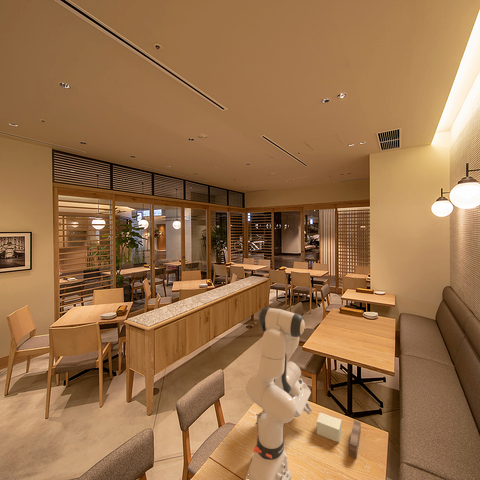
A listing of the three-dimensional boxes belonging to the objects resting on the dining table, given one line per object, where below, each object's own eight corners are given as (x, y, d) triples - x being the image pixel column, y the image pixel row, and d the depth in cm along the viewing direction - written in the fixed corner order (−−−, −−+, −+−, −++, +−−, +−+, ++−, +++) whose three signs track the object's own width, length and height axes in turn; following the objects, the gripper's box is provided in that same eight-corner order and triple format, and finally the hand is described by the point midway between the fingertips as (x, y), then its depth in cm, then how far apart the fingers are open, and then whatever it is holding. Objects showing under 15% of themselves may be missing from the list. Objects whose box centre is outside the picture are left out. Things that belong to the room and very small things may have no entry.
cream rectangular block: (339, 443, 123) (339, 429, 123) (316, 433, 129) (316, 421, 128) (341, 432, 129) (341, 419, 128) (319, 424, 135) (319, 412, 134)
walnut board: (356, 458, 115) (356, 446, 114) (349, 455, 116) (349, 443, 116) (360, 432, 128) (360, 422, 128) (354, 430, 130) (354, 419, 129)
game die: (262, 430, 136) (262, 408, 142) (274, 432, 131) (274, 409, 137) (251, 430, 131) (252, 407, 137) (264, 432, 126) (264, 409, 131)
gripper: (289, 399, 128) (308, 424, 124) (302, 376, 145) (319, 398, 141) (281, 404, 131) (300, 428, 127) (295, 381, 148) (311, 402, 144)
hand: (310, 412), depth 134 cm, fingers closed
